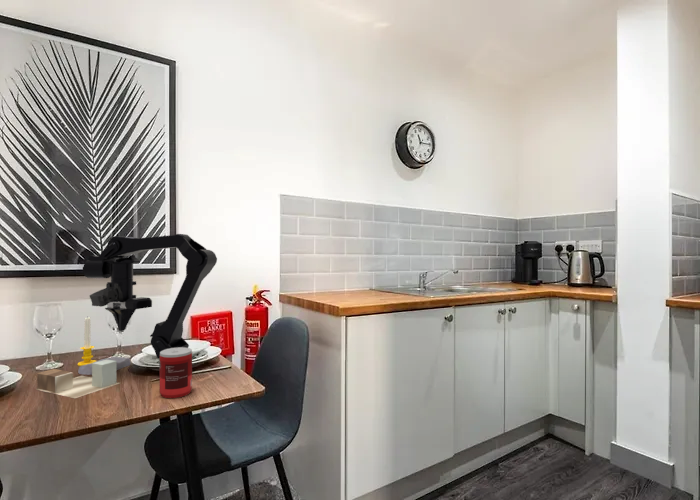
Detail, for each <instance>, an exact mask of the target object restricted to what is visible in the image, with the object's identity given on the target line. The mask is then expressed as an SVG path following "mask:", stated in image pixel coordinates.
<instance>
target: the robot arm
mask: <svg viewBox="0 0 700 500" xmlns="http://www.w3.org/2000/svg"><path fill="white" fill-rule="evenodd" d="M175 248H176V249H177V250H178V251H179V252H180V255H182V257H183V258H185V259H186V260H187V261H186V265H185V271H186V272H185V273H186V274H185V278H184V280H183V282H182V285H181V287H180V288H179V292H178V293H177V295H176V297H175V300H174V303H172V304H173V305H172V306H171V309H170V310H169V313H168V316H167V317H166V319H165V320H164V321H160V322H157V323H156V324H155V325H154V328H153V329H154V330H153V332H152V333H151V335H149V337H150V345H151V347H152V348H153V350H154V352H155V356H156V358H157V359H160V352H161V351H163V350H165V349H169V348H178V347H185V348H190V345H189V343H188V342H187V341H186V340H185V339H184V338H183V337H182V336H183V333H184V321H185V319H186V316H187V314H188V313H189V310H190V308H191V306H192V303H193V301H194V299H195V297H196V294H197V293H198V291H199V289H200V287H201V284H202V282H203V280H204V279H205V278H206V277H207V276H208V275H209V274H210V273H211V271H212V270H213V268H214V267H215V266H216V265H217V261H218V257H217V255H216V253H215V252H214V251H213V250H211V249H207V248H206V247H205V246H203V245H202V244H200V243H199V242H197V241H196V240H194V239H193V238H192V237H191V236H190V235H188V234H184V233H183V234H182V233H176V234H170V235H160V236H159V235H158V236H147V237H132V236H119V235H116V236H111V237H110V238H109V240H108V241H107V244H106V246H105V247H104V249H103V250H102V252H100V254H99V255H88V257H87V258H88V259H87V260H86V261H85V262H84V264H83V266H82V273H83V275H84V276H85V278H88V279H109V278H110V281H108V282H107V283H106V286H105V288H102V289H100V290H98V291H95V292H94V293H90V295H89V299H90V302H91V306H92V307H100V308H101V307H105V306H107V307H105V308H104V309H105V311H108V312H110V313H111V314H112V316H113V318H114V321H115V323H116V326H117V329H118V331H119V332H123V331H125V330H126V328H127V326H128V324H129V322H130V320H131V319H132V316H134V313H135V312H136V310H141V309H147V308H152V307H153V300H152V299H151V298H150V297H144V296H140V297H137V294H134V286H136V285H137V281H134V264H140V263H141V260H140V259H138V258H137V257H136V256H135V255H137V254H139V253H140V254H141V253H143V252H145V251H152V250H154V251H155V250H161V249H162V250H164V249H175Z"/></svg>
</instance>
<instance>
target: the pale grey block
mask: <svg viewBox="0 0 700 500" xmlns="http://www.w3.org/2000/svg"><path fill="white" fill-rule="evenodd" d="M98 361H99V360H98ZM116 363H117V361H113V360H107V359H106V360H103V361H99V362H95V363H92V375H91V377H92V386H96V387H100V388H103V387H106V386H109V385H112V384H115V383H116V382H117V370H116Z"/></svg>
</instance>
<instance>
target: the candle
mask: <svg viewBox="0 0 700 500" xmlns="http://www.w3.org/2000/svg"><path fill="white" fill-rule="evenodd" d="M91 340H92V339H91V317H89V316H87V317H85V318H84V334H83V342H84V345H83V346H82V347H79V349H80V350H83V352H82V354H83V355H82V356H81V359H82V361H79V362H78V363H77V366H78V367H80V366H83V365H87V364H91V363H94V362H96V361H97V360H96V359H94V360H93V358H94V355H93V353H92V349H94V348H95V346H93V345H91Z"/></svg>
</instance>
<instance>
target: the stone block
mask: <svg viewBox="0 0 700 500" xmlns="http://www.w3.org/2000/svg"><path fill="white" fill-rule="evenodd" d="M106 359H107V360H113V361H117V363H116V371H117V370H121V369H123V368H125V367H129V366H131V359H130V358H129V357H122V356H110V357H106V358H101V359H99V360H96V362H99V361H103V360H106ZM94 363H95V362H94ZM77 370H78V371H77V372H78V375H79V374H80V375H88V376H90V375H91V376H92V363H90V364H86V365H83V366H78V369H77Z"/></svg>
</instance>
